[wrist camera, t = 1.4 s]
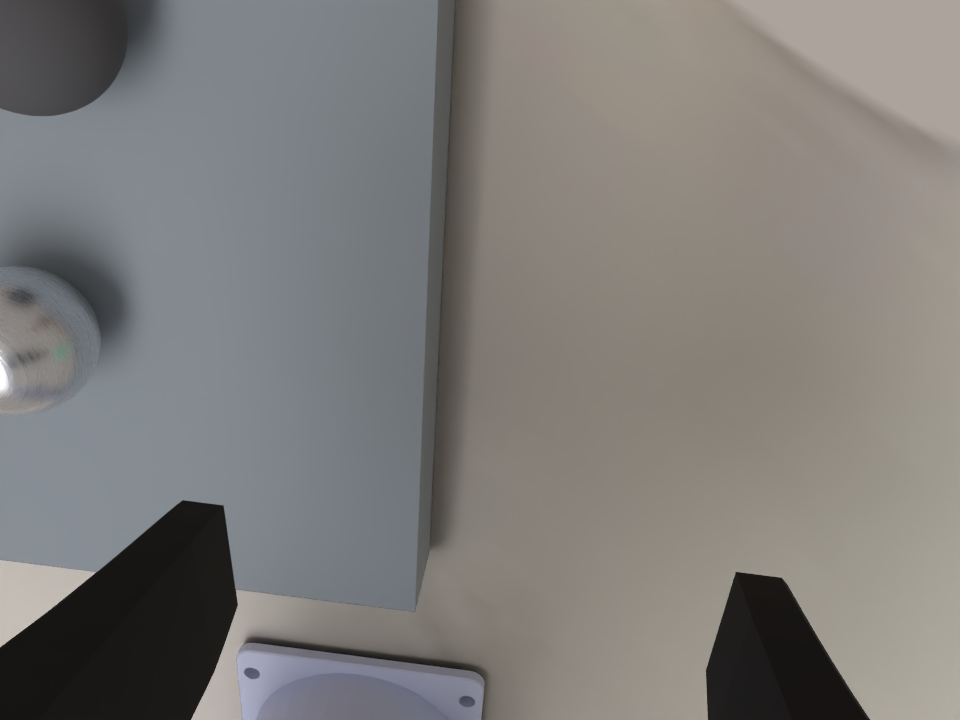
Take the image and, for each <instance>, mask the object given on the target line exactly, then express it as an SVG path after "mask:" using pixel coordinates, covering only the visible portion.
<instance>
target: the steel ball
mask: <svg viewBox="0 0 960 720" xmlns="http://www.w3.org/2000/svg"><path fill="white" fill-rule="evenodd" d="M100 351H101V333H100V328H99V324H98V320H97V318H96V315H95V313H94V311H93V309H92V307H91V305H90V304H89V302H88V301H87V300H86V298H85V297H84V296H83V295H82V294H81V293H80V292H79V291H78V290H77V289H76V288H75V287H74V286H73V285H71V284H70V283H69V282H67V281H66V280H64V279H63V278H61V277H59V276H57V275H55V274H52V273H50V272H47V271H45V270H41V269H38V268H33V267H26V266H3V267H0V415H6V416H27V415H34V414H39V413H42V412H45V411H48V410H51V409H54V408H56V407H58V406H60V405H61V404H63V403H65V402H67V401H68V400H70V399H71V398H72V397H73V396H75V395H76V394H77V393H78V392H79V391H80V390H81V389H82V388H83V387H84V386H85V385H86V383H87V382H88V381H89V379H90V378H91V376H92V374H93V372H94V370H95V368H96V366H97V363H98V360H99V355H100Z"/></svg>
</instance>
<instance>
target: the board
mask: <svg viewBox="0 0 960 720" xmlns="http://www.w3.org/2000/svg"><path fill="white" fill-rule="evenodd" d="M121 1H122V4H123V8H124V11H125V16H126V21H127V34H128V38H127V49H126V54H125V58H124V61H123V64H122V67H121V69H120V71H119V73H118V75H117V77H116V79H115V80H114V82H113V83H112V84H111V86H110V87H109V88H108V89H107V90H106V91H105V92H104V93H103V94H102V95H101V96H100V97H99V98H97V99H96V100H95V101H93V102H92V103H90V104H88V105H87V106H85V107H82V108H80V109H78V110H76V111H72V112H69V113H65V114H61V115H55V116H29V115H23V114H18V113H13V112H10V111H7V110H3V109H1V108H0V267H3V266H26V267H33V268H38V269H41V270H45V271H47V272H50V273H52V274H55V275H57V276H59V277H61V278H63V279H64V280H66V281H67V282H69V283H70V284H71V285H73V286H74V287H75V288H76V289H77V290H78V291H79V292H80V293H81V294H82V295H83V296H84V297H85V298H86V300H87V301H88V302H89V304H90V305H91V307H92V309H93V311H94V313H95V315H96V318H97V320H98V324H99V328H100V333H101V351H100V355H99V360H98V363H97V366H96V368H95V370H94V372H93V374H92V376H91V378H90V379H89V381H88V382H87V383H86V385H85V386H84V387H83V388H82V389H81V390H80V391H79V392H78V393H77V394H76V395H75V396H73V397H72V398H71V399H70V400H68V401H67V402H65V403H63V404H61V405H60V406H58V407H56V408H54V409H51V410H48V411H45V412H42V413H39V414H34V415H27V416H6V415H0V560H5V561H13V562H21V563H29V564H37V565H45V566H53V567H61V568H69V569H77V570H84V571H92V572H98V571H99V570H100V569H101V568H102V567H104V566H105V565H106V564H107V563H108V562H110V561H111V560H112V559H113V558H114V557H115V556H117V555H118V554H119V553H120V552H121V551H123V550H124V549H125V548H126V547H127V546H128V545H130V544H131V543H132V542H133V541H134V540H135V539H137V538H138V537H139V536H140V535H141V534H143V533H144V532H145V531H146V530H147V529H148V528H150V527H151V526H152V525H153V524H154V523H155V522H157V521H158V520H159V519H160V518H161V517H162V516H164V515H165V514H166V513H167V512H168V511H170V510H171V509H172V508H173V507H175V506H176V505H177V504H178V503H180V502H181V501H182V500H185V501H193V502H201V503H208V504H216V505H224V511H225V518H226V526H227V533H228V540H229V547H230V554H231V561H232V568H233V575H234V582H235V589H236V590H244V591H252V592H260V593H268V594H275V595H283V596H291V597H299V598H307V599H315V600H323V601H331V602H339V603H347V604H355V605H363V606H371V607H379V608H387V609H395V610H403V611H411V612H415V610H416V605H417V601H418V597H419V593H420V588H421V584H422V580H423V576H424V571H425V567H426V563H427V559H428V554H429V550H430V529H431V507H432V486H433V465H434V443H435V422H436V401H437V379H438V358H439V337H440V315H441V294H442V273H443V251H444V230H445V208H446V187H447V166H448V144H449V123H450V102H451V80H452V59H453V38H454V16H455V0H121Z"/></svg>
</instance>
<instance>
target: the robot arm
mask: <svg viewBox="0 0 960 720" xmlns="http://www.w3.org/2000/svg"><path fill="white" fill-rule="evenodd" d="M237 606H238V603H237V596H236V589H235V582H234V575H233V568H232V561H231V554H230V547H229V540H228V533H227V526H226V518H225V511H224V505H216V504H208V503H201V502H193V501H185V500H182V501H181V502H180V503H178V504H177V505H176V506H175V507H173V508H172V509H171V510H170V511H168V512H167V513H166V514H165V515H164V516H162V517H161V518H160V519H159V520H158V521H157V522H155V523H154V524H153V525H152V526H151V527H150V528H148V529H147V530H146V531H145V532H144V533H143V534H141V535H140V536H139V537H138V538H137V539H135V540H134V541H133V542H132V543H131V544H130V545H128V546H127V547H126V548H125V549H124V550H123V551H121V552H120V553H119V554H118V555H117V556H115V557H114V558H113V559H112V560H111V561H110V562H108V563H107V564H106V565H105V566H104V567H102V568H101V569H100V570H99V571H98V572H96V573H95V574H94V575H93V576H91V577H90V578H89V579H88V580H86V581H85V582H84V583H83V584H82V585H80V586H79V587H78V588H77V589H75V590H74V591H73V592H72V593H71V594H69V595H68V596H67V597H66V598H64V599H63V600H62V601H61V602H59V603H58V604H57V605H56V606H54V607H53V608H52V609H51V610H49V611H48V612H47V613H46V614H44V615H43V616H42V617H40V618H39V619H38V620H36V621H35V622H34V623H32V624H31V625H30V626H28V627H27V628H26V629H24V630H23V631H22V632H20V633H19V634H18V635H16V636H15V637H14V638H12V639H11V640H10V641H8V642H7V643H6V644H4V645H3V646H2V647H0V720H191V718H192V716H193V714H194V712H195V710H196V708H197V706H198V704H199V702H200V700H201V698H202V696H203V694H204V692H205V690H206V688H207V686H208V684H209V681H210V679H211V677H212V675H213V673H214V671H215V668H216V665H217V663H218V660H219V657H220V654H221V652H222V649H223V646H224V644H225V641H226V638H227V635H228V632H229V629H230V626H231V623H232V620H233V617H234V614H235V612H236V609H237ZM236 661H237V671H238V681H239V691H240V701H241V710H242V720H481V717H482V707H483V697H484V686H485V683H484V679H483V678H482V676H481V675H479V674H477V673H476V672H473V671H468V670H460V669H452V668H445V667H437V666H429V665H421V664H414V663H406V662H398V661H391V660H383V659H375V658H367V657H360V656H352V655H344V654H336V653H329V652H321V651H313V650H306V649H298V648H290V647H282V646H275V645H267V644H259V643H247V644H244V645H243V646H242V647H241V648H240V650H239V652H238V654H237V658H236ZM253 668H254V669H253ZM706 679H707V705H708V720H870V719H869V718H868V716H867V715H866V713H865V712H864V710H863V709H862V707H861V706H860V704H859V702H858V701H857V699H856V698H855V696H854V695H853V693H852V692H851V690H850V689H849V687H848V686H847V684H846V683H845V681H844V679H843V678H842V676H841V675H840V673H839V671H838V670H837V668H836V667H835V665H834V663H833V662H832V660H831V658H830V657H829V655H828V653H827V652H826V650H825V649H824V647H823V645H822V644H821V642H820V640H819V639H818V637H817V635H816V634H815V632H814V630H813V628H812V627H811V625H810V623H809V622H808V620H807V618H806V616H805V615H804V613H803V611H802V610H801V608H800V606H799V604H798V603H797V601H796V599H795V597H794V596H793V594H792V592H791V590H790V589H789V587H788V585H787V584H786V583H785V581H784V580H783V579H782V578H778V577H770V576H763V575H755V574H747V573H739V572H736V574H735V577H734V580H733V584H732V587H731V590H730V593H729V597H728V600H727V603H726V607H725V610H724V613H723V616H722V620H721V623H720V626H719V630H718V633H717V636H716V639H715V643H714V646H713V649H712V653H711V656H710V659H709V662H708V666H707V669H706ZM465 696H469V697H465Z"/></svg>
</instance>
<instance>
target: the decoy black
mask: <svg viewBox="0 0 960 720" xmlns="http://www.w3.org/2000/svg"><path fill="white" fill-rule="evenodd" d="M127 38H128V34H127V21H126V16H125V11H124V8H123V4H122V1H121V0H0V108H1V109H3V110H7V111H10V112H13V113H18V114H23V115H29V116H55V115H61V114H65V113H69V112H72V111H76V110H78V109H80V108H82V107H85V106H87V105H88V104H90V103H92V102H93V101H95V100H96V99H97V98H99V97H100V96H101V95H102V94H103V93H104V92H105V91H106V90H107V89H108V88H109V87H110V86H111V84H112V83H113V82H114V80H115V79H116V77H117V75H118V73H119V71H120V69H121V67H122V64H123V61H124V58H125V54H126V49H127Z"/></svg>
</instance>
